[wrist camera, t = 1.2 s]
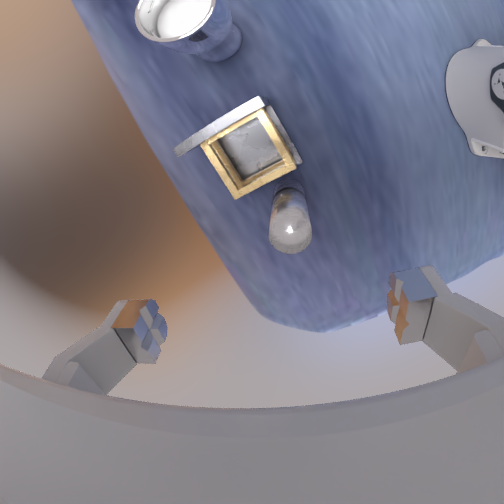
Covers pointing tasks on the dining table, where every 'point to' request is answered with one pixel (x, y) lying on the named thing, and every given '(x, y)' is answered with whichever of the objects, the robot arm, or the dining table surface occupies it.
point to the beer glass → (190, 27)
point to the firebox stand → (246, 147)
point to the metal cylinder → (289, 218)
